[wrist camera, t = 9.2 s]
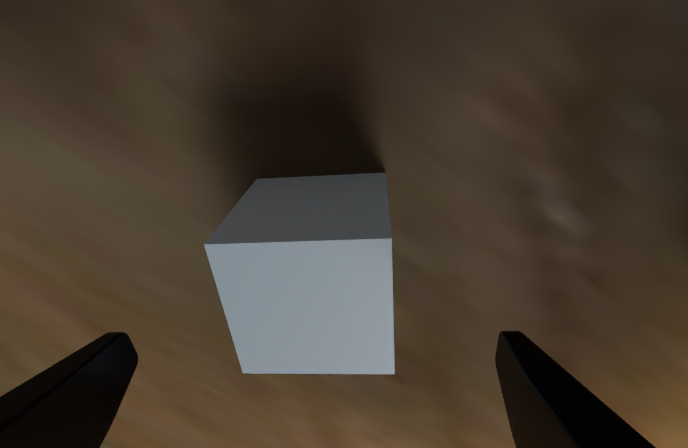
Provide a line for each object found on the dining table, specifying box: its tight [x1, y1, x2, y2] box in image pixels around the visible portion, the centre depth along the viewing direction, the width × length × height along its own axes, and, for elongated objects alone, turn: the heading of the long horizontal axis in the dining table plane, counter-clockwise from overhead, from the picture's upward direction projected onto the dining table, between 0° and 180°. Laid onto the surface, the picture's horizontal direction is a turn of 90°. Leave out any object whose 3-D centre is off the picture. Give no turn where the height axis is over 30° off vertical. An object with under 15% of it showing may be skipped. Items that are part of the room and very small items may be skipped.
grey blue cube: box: [204, 173, 395, 374], centre depth 12 cm, size 4×4×4 cm
